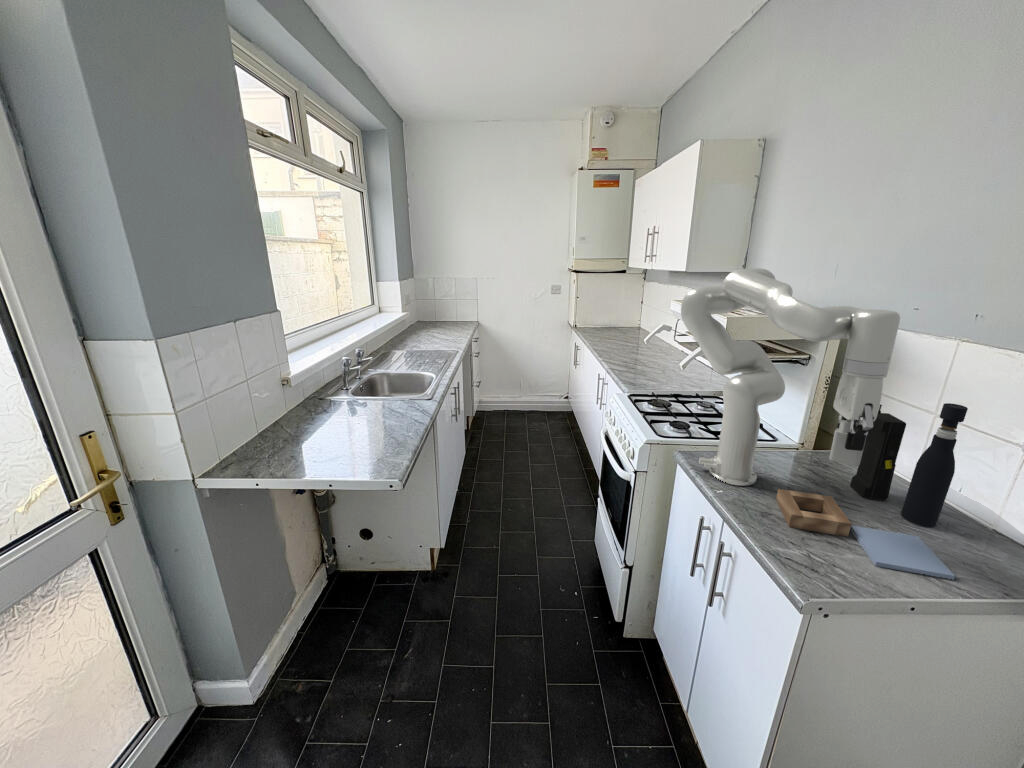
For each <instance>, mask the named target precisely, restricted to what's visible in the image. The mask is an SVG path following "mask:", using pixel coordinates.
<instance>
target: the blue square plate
mask: <svg viewBox="0 0 1024 768" xmlns="http://www.w3.org/2000/svg"><path fill="white" fill-rule="evenodd" d="M849 532H851V533H852V535H853V536H854V538H855V539H856V540H857V542H858V543H859V545H860V546H861V548H862V549H863V550H864V552H865V554H867V556H868V558H869V559H870V560H871V562H872V564H874V566H875V567H879V568H886V569H891V570H896V571H903V572H908V573H914V574H918V573H919V575H923V574H925V575H924V576H929V575H930V576H929V577H934V576H935V578H940V577H942V578H941V579H945V578H947V579H946V580H951V579H952V580H953V581H954V580H955V578H956V575H955V574H954V573H953V572H952V571H951V569H949V568H948V566H947V565H945V563H944V562H943V561H942V560H941V558H939V557H938V556H937V554H935V552H933V550H932V549H931V548H930V547H929V546H928V545H927V544H926V543H925V542H924V541H923V540H922V539H921V537H920V536H918V535H914V534H913V535H912V534H907V533H901V532H893V531H889V530H883V529H882V530H881V529H876V528H869V527H861V526H856V525H851V527H850V531H849Z"/></svg>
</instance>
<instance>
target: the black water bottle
mask: <svg viewBox="0 0 1024 768" xmlns="http://www.w3.org/2000/svg"><path fill="white" fill-rule="evenodd" d="M968 410H969V408H968V406H965V405H963V404H957V403H950V402H948V403H943V405H942V408H941V411H940V413H939V418H940V419H942V422H941V424H940V427H938V428H937V429H936V432H935V434H934V435H933V437H932V440H931V442H930V444H929V446H928V447H927V449H925V450H924V452H923V453H922V454H921V456H919V459H918V460H917V461H916V464H915V468H914V470H913V473H912V476H911V480H910V483H909V486H908V490H907V493H906V496H905V499H904V502H903V505H902V508H901V511H900V516H901V518H903V519H904V520H906V521H907V522H909V523H911V524H914V525H916V526H921V527H924V528H934V527H936V526H937V524H938V521H939V517H940V515H941V512H942V509H943V507H944V505H945V504H944V503H945V501H946V498H947V495H948V493H949V490H950V487H951V484H952V482H953V478H954V476H955V472H956V460H955V459H956V458H955V455H954V454H955V453H954V450H955V447H956V443H957V441H958V440H957V435H958V431H957V429H958V426H959V423H963V422H964V421H965V419H966V415H967V413H968Z"/></svg>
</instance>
